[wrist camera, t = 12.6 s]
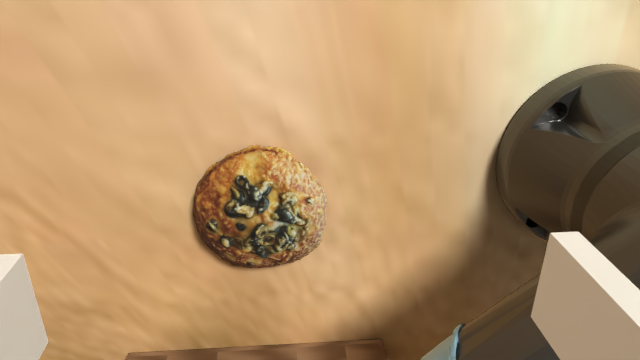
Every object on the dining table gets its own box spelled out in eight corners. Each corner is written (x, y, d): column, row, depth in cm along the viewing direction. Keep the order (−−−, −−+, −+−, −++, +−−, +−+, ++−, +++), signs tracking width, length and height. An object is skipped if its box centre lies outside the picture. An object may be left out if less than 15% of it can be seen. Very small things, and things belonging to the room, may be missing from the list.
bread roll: (178, 243, 43) (172, 272, 38) (216, 121, 40) (215, 135, 35) (301, 273, 46) (309, 304, 41) (344, 161, 43) (358, 179, 38)
